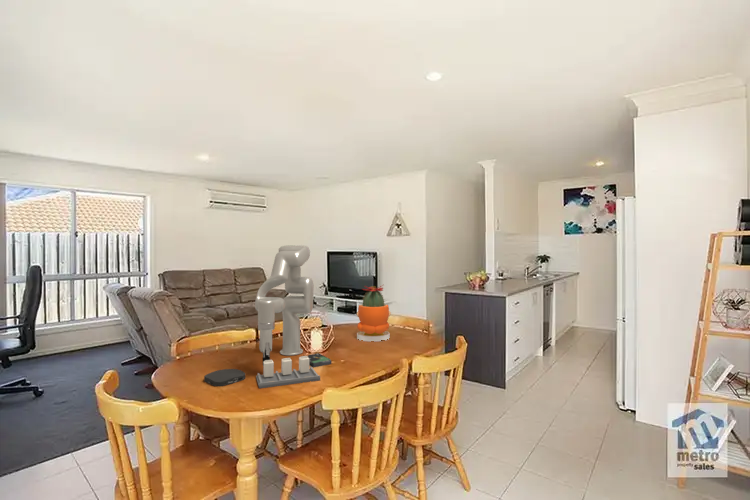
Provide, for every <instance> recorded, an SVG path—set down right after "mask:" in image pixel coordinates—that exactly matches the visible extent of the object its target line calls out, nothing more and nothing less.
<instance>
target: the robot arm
mask: <svg viewBox="0 0 750 500" xmlns="http://www.w3.org/2000/svg"><path fill="white" fill-rule="evenodd" d="M310 253H311V251H310V248H309V246H307V245H282V246H280V247H279V248H278V252H277V253H276V254H275V257H274V260H273V264H272V265H273V266H272V268H271V274H270V277H268V278H267V279H266V280H265V281H264V282H263V283H262V284H261V286H260V287H259V288H258V291H257V292H256V293H257V294H256V296H255V301H254V308H255V311H257V330H258V331H259V351H260V352H261V353H262V362H263V361H265V360H271V356H270V355H271V352H273V330H274V331H275V328H276V327H275V325H276V324H275V320H276V319H275V318H276V316H275V315H276V314H279V313H282V349H280V351H279V354H280V355H283V356H297V355H301V354H302V353H303V352H304V350H303V348H301V319H300V317H299V316H298V314H303V315H304V314H307V315H308V314H311V312H312V311H313V309H314V280H313V278H311V277H310V276H301V274H302V273H301V272H302V270H301V269H302V268H301V267H302V266H303V265H305V263H307V261H308V260H309V258H310V255H311V254H310ZM283 284H284V291H285V292H286V293H287V294H293V295H289V296H287V295H286V296H285V297H283V298H282V297H279V296H278V297H277V296H276V297H275V296H267V294H268V292H269V291H270V290H273V289H274V288H276V287H279V286H281V285H283ZM294 294H295V295H294ZM301 294H302V295H303V296H302V295H301ZM300 295H301V296H300Z"/></svg>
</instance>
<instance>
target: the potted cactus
mask: <svg viewBox="0 0 750 500" xmlns="http://www.w3.org/2000/svg"><path fill="white" fill-rule="evenodd" d="M383 286H384V284H382V285H380V286H378V287H375V286H374V285H373V286H372V285H371V286H369V287H368V286H367V285H364V288H362V289H361V290H363V291H366V292H365V294H364V295H363V297H362V301H361V304H359V305H358V309H357V312H356V316H357V318H358V319H359V320H358V321H359V322H358V323H357V330H358V332H356V339H357V340H358V339H359V340H358V341H361V340H363V341H362V342H371V341H374V342H382V341H381V340H385V341H388V340H390V339H389V338H391V337H390V336H391V335H390V332H389V331H388V330H389V329H390V323H389V322H388V321H389V317H390V316H391V315H392V312H391V310H390V308H389V307H390V306H389V305H388V304H386V303H385V302H386V301H385V298H384V296H383V294H382V291H384V287H383ZM387 339H388V340H387Z"/></svg>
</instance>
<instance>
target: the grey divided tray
mask: <svg viewBox="0 0 750 500" xmlns="http://www.w3.org/2000/svg"><path fill="white" fill-rule="evenodd" d="M255 377H256V383H257V386H258V388H259V389H264V388H265V389H266V388H272V387H281V386H287V385H296V384H303V382H304V383H311V382H317V381H321V375H319V374H318V373H317V372H316V370H315V369H314V368H313V367H312V366H309V372H305V373H300V371H299V369H296V368H292V374H288V375H282V373H281V372H279V371H278V370H275V372H274V376H272V377H264V375H263V374H260V372H257V375H255ZM310 381H311V382H310Z"/></svg>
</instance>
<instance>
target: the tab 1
mask: <svg viewBox="0 0 750 500" xmlns="http://www.w3.org/2000/svg"><path fill="white" fill-rule="evenodd" d="M274 362H275V361H273V359H270V360H265V361H263V360H262V366H263V368H262V369H263V373H262V375H264V377H272V376H274V373H275V370H274V369H275V367H274V366H275V364H274Z"/></svg>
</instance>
